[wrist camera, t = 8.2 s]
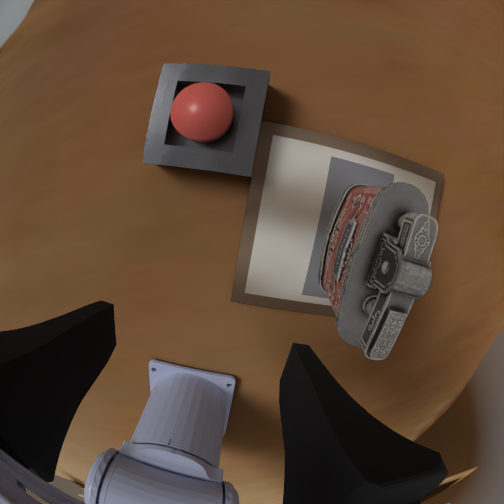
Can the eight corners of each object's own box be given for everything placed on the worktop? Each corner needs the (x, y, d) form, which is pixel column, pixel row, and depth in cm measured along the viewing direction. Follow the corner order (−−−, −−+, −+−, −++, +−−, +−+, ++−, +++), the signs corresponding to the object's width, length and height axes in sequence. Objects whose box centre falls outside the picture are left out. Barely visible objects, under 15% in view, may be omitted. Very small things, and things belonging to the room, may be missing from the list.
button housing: (251, 177, 18) (250, 177, 16) (155, 164, 18) (142, 163, 16) (268, 84, 17) (270, 71, 14) (174, 75, 16) (163, 63, 14)
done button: (228, 146, 16) (225, 142, 14) (173, 140, 16) (165, 136, 14) (238, 93, 15) (236, 85, 13) (184, 88, 15) (177, 80, 13)
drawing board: (401, 319, 21) (405, 324, 20) (231, 297, 21) (230, 302, 20) (440, 174, 18) (445, 174, 17) (261, 122, 17) (261, 119, 16)
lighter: (340, 177, 17) (403, 167, 8) (384, 192, 17) (472, 200, 8) (309, 287, 19) (331, 373, 10) (351, 297, 19) (399, 381, 10)
